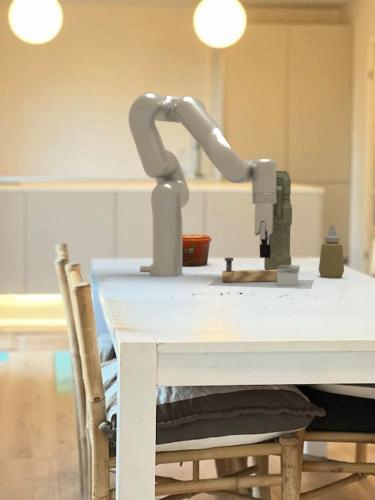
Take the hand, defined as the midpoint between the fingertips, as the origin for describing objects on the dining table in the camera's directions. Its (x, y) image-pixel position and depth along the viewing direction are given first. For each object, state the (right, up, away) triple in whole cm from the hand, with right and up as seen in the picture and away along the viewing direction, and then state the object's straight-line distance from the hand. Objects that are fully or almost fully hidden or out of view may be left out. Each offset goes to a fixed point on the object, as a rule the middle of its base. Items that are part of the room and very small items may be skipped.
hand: (265, 257), depth 274 cm
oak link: (-3, -7, -6) cm, 9 cm away
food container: (-24, -3, +50) cm, 56 cm away
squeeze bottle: (+22, -8, +7) cm, 24 cm away
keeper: (+6, -8, -12) cm, 15 cm away
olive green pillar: (+6, -7, +19) cm, 21 cm away
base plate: (-2, -9, -8) cm, 12 cm away
